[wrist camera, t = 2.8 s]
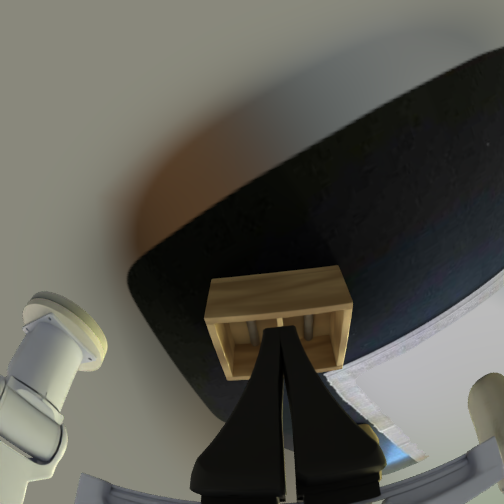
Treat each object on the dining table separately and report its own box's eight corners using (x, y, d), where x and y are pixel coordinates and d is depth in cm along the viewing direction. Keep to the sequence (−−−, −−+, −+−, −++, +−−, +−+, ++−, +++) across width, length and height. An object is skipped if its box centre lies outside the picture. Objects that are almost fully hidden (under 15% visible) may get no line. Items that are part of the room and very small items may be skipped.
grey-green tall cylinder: (506, 362, 34) (547, 466, 10) (474, 392, 39) (507, 492, 16) (488, 362, 33) (534, 484, 9) (452, 395, 38) (486, 510, 14)
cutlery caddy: (211, 278, 22) (203, 318, 18) (338, 264, 21) (353, 302, 17) (230, 343, 26) (227, 380, 22) (333, 332, 25) (342, 369, 22)
